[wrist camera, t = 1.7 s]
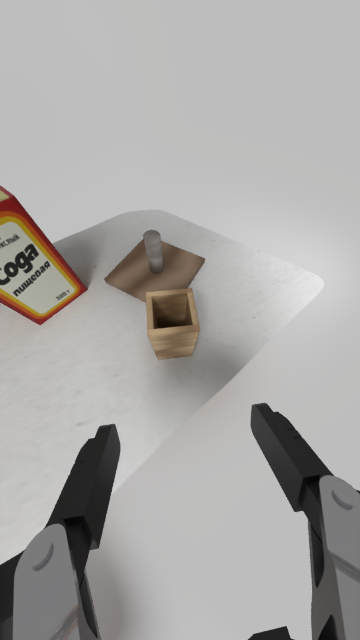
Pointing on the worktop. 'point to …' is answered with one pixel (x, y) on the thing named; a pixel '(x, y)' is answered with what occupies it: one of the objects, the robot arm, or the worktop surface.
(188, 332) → the wooden holder box
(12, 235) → the baking soda box
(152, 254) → the plate
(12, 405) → the worktop surface
